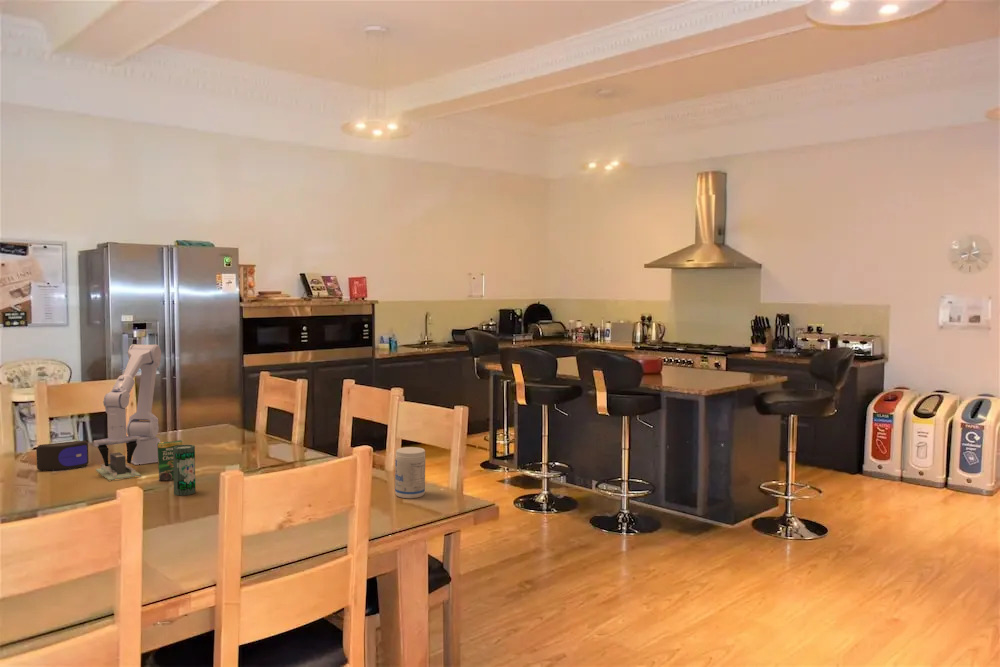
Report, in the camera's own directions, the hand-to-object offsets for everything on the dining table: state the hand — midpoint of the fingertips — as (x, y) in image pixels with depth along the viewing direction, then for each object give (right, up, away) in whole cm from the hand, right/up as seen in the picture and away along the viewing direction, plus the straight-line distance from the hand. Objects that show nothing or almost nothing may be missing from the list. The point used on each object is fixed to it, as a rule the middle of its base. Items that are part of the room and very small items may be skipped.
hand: (117, 464), depth 269 cm
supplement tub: (+105, -6, -23) cm, 108 cm away
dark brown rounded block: (-24, -3, +8) cm, 25 cm away
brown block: (0, -3, 0) cm, 3 cm away
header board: (0, -3, 0) cm, 3 cm away
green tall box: (+33, -5, -23) cm, 40 cm away
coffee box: (+21, -4, -6) cm, 23 cm away
